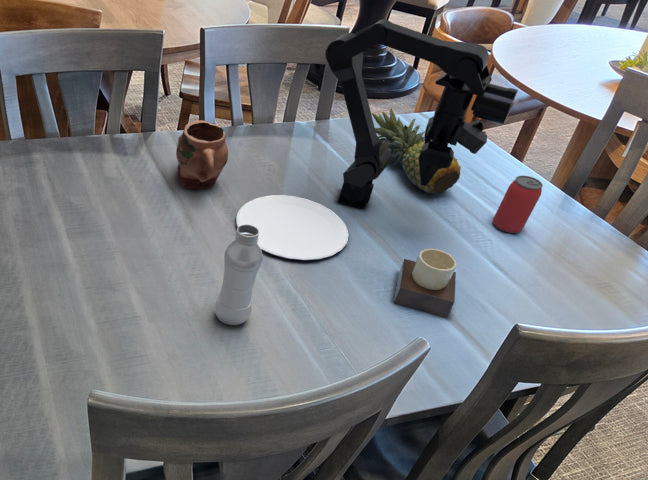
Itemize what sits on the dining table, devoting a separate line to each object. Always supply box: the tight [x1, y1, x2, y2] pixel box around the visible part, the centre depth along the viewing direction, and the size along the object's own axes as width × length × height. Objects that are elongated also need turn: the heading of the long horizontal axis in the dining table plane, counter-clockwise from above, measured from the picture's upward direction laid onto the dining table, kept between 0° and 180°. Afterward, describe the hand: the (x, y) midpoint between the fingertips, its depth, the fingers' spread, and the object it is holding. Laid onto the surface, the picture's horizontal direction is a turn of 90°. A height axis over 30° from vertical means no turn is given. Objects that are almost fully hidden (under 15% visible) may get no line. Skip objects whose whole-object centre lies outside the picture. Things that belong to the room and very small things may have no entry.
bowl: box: [412, 248, 457, 290], centre depth 122 cm, size 7×7×5 cm
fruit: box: [371, 107, 462, 195], centre depth 162 cm, size 14×12×30 cm
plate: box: [235, 194, 349, 261], centre depth 141 cm, size 25×25×1 cm
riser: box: [393, 258, 457, 318], centre depth 125 cm, size 10×10×4 cm
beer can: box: [492, 175, 544, 234], centre depth 143 cm, size 7×7×12 cm
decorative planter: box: [175, 119, 229, 190], centre depth 150 cm, size 20×12×14 cm, turn 13°
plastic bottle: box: [214, 225, 264, 326], centre depth 111 cm, size 6×7×20 cm
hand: (425, 175), depth 139 cm, fingers open, 9 cm apart
